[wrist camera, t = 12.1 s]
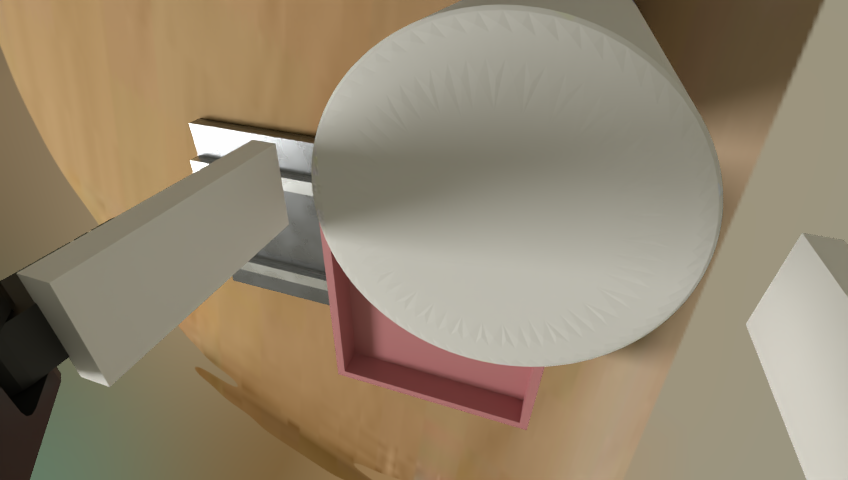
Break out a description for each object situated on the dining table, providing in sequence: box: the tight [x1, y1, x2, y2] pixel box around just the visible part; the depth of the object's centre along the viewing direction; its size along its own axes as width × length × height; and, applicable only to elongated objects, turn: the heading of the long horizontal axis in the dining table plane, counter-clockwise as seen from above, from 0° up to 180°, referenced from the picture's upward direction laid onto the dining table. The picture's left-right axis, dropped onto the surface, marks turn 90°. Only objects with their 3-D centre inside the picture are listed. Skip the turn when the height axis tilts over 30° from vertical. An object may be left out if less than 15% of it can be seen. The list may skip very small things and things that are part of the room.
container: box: [311, 0, 723, 367], centre depth 19 cm, size 10×10×20 cm
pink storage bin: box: [319, 223, 545, 430], centre depth 32 cm, size 15×15×6 cm
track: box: [189, 119, 330, 305], centre depth 38 cm, size 17×33×2 cm, turn 89°
